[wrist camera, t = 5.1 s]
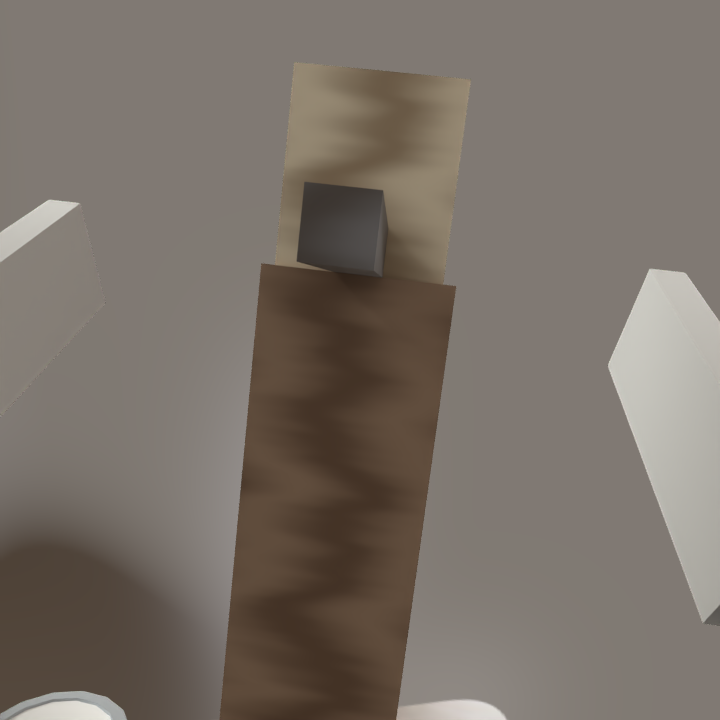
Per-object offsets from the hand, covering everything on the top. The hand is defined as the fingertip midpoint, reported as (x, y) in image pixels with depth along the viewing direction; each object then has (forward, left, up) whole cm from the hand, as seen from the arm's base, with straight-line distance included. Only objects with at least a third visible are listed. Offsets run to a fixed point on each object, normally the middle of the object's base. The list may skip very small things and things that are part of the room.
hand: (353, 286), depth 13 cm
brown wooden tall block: (-1, +12, -29) cm, 31 cm away
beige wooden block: (-1, +8, 0) cm, 8 cm away
